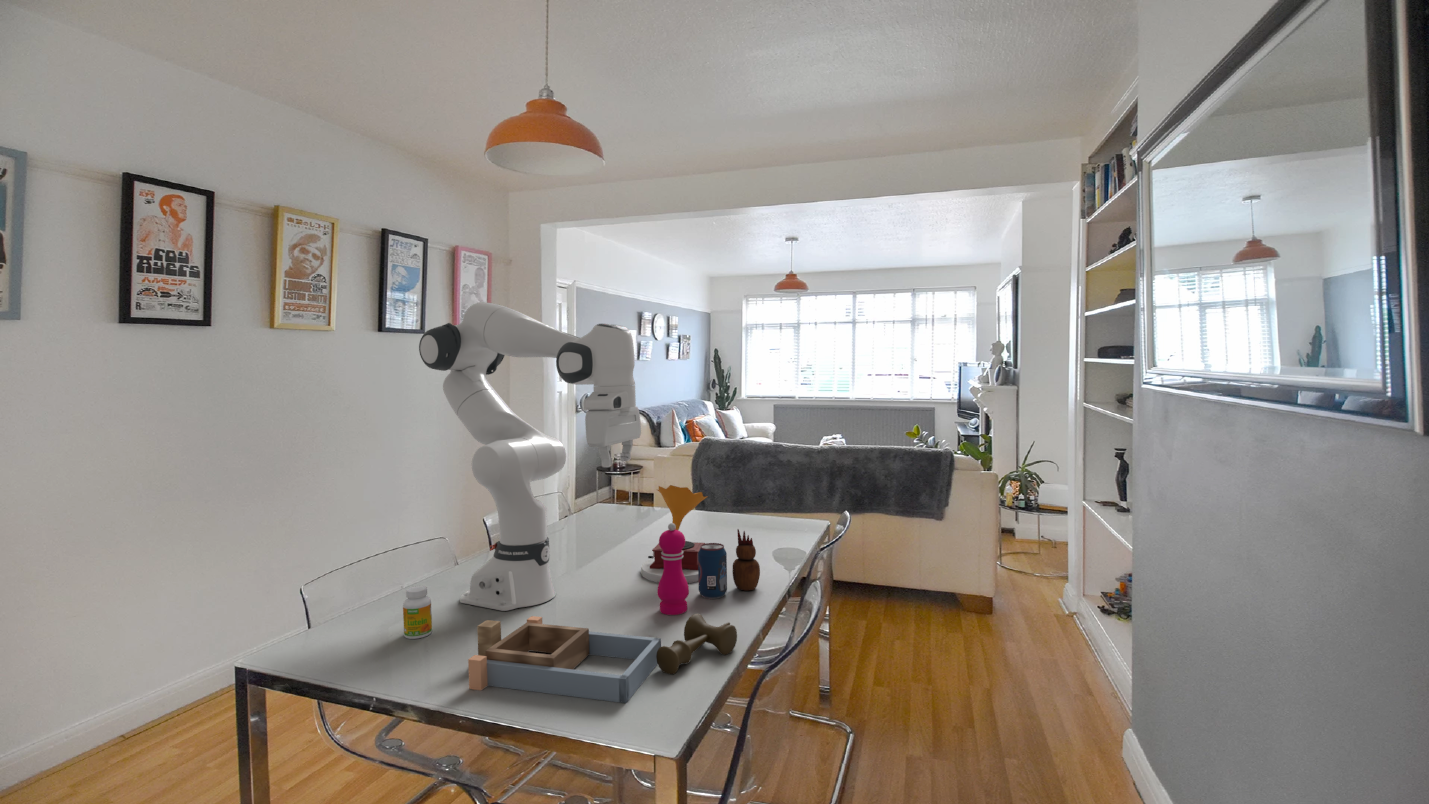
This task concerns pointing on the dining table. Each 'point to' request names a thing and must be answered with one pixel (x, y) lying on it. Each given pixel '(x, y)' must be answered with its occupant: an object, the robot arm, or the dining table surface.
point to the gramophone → (679, 506)
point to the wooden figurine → (745, 565)
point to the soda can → (712, 570)
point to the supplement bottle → (417, 613)
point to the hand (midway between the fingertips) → (616, 463)
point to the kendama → (696, 643)
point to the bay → (574, 680)
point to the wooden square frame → (534, 644)
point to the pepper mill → (672, 573)
